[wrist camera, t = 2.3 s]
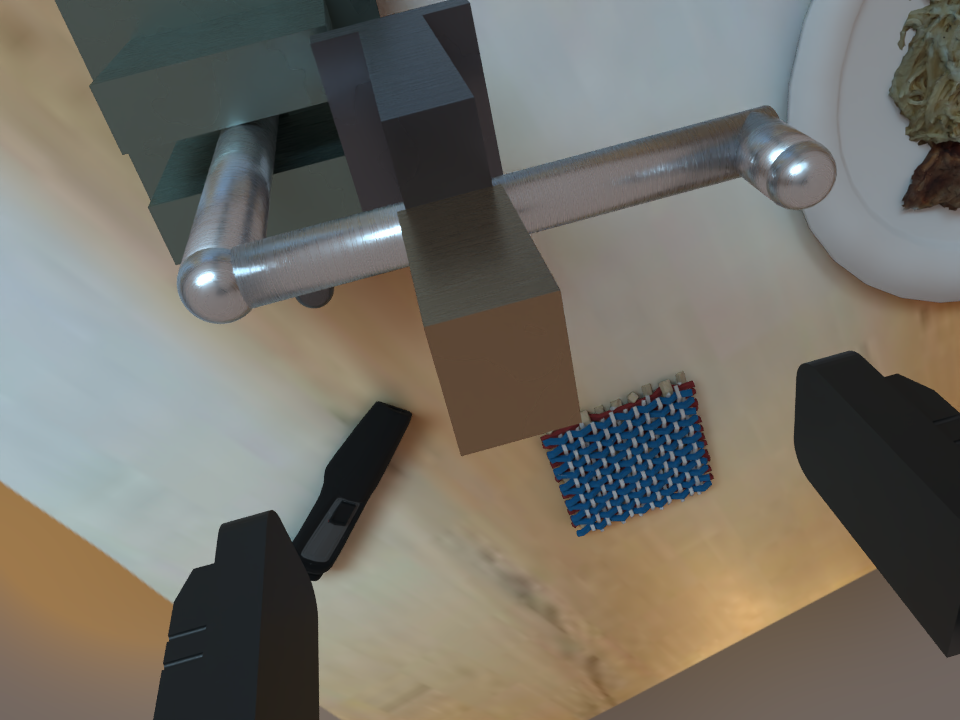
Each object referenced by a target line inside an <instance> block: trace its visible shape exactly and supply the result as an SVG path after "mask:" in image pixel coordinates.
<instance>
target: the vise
mask: <svg viewBox="0 0 960 720" xmlns="http://www.w3.org/2000/svg"><path fill="white" fill-rule="evenodd" d="M55 2H56V4H57V6H58V8H59V10H60V12H61V14H62V16H63V18H64V21H65V23H66V25H67V27H68V29H69V31H70V33H71V35H72V37H73V39H74V41H75V44H76V46H77V48H78V50H79V52H80V54H81V56H82V58H83V60H84V62H85V64H86V66H87V69H88V71H89V73H90V75H91V77H92V79H93V82H92V83H91V84H90V85H89V87H90V89H91V91H92V93H93V95H94V97H95V99H96V101H97V103H98V105H99V107H100V109H101V111H102V114H103V116H104V118H105V120H106V122H107V124H108V126H109V128H110V130H111V132H112V134H113V136H114V138H115V140H116V142H117V145H118V147H119V149H120V151H121V153H122V155H124V154H129V156H130V158H131V160H132V162H133V164H134V167H135V169H136V171H137V173H138V175H139V177H140V179H141V181H142V183H143V185H144V187H145V190H146V192H147V194H148V196H149V198H150V200H151V202H150V204H149V206H148V209H149V211H150V213H151V215H152V217H153V219H154V221H155V223H156V225H157V227H158V229H159V231H160V233H161V235H162V237H163V239H164V242H165V244H166V246H167V248H168V250H169V252H170V254H171V256H172V258H173V260H174V262H175V264H176V265H178V264H181V265H180V268H179V272H178V276H177V289H178V293H179V296H180V299H181V301H182V303H183V304H184V306H185V307H186V308H187V309H188V310H189V311H190V312H191V313H192V314H193V315H194V316H196V317H197V318H199V319H201V320H203V321H206V322H209V323H215V324H226V323H231V322H234V321H237V320H239V319H241V318H243V317H244V316H246V315H247V314H248V313H249V312H250V311H251V310H252V309H253V308H256V307H260V306H263V305H267V304H271V303H275V302H278V301H282V300H286V299H290V298H293V297H295V298H296V299H297V301H298V302H299V303H300V304H302V305H303V306H305V307H308V308H320V307H322V306H324V305H326V304H327V303H328V302H329V301H330V300H331V298H332V296H333V293H334V286H338V285H342V284H345V283H349V282H353V281H357V280H360V279H364V278H368V277H371V276H375V275H379V274H383V273H386V272H390V271H394V270H397V269H401V268H405V267H409V262H408V258H407V253H406V249H405V245H404V241H403V236H402V232H401V228H400V223H399V219H398V215H397V212H398V211H401V210H405V206H404V202H399V203H395V204H392V205H388V206H384V207H380V208H376V209H373V210H369V211H365V212H363V211H362V208H361V205H360V202H359V198H358V195H357V192H356V189H355V186H354V182H353V179H352V176H351V173H350V170H349V167H348V163H347V160H346V157H345V154H344V151H343V147H342V144H341V141H340V138H339V135H338V131H337V128H336V125H335V122H334V119H333V115H332V112H331V109H330V106H329V103H328V99H327V96H326V93H325V90H324V87H323V83H322V80H321V77H320V74H319V71H318V67H317V64H316V61H315V58H314V55H313V51H312V48H311V45H310V36H311V35H315V34H319V33H323V32H327V31H331V30H334V29H338V28H342V27H346V26H350V25H354V24H358V23H362V22H366V21H370V20H373V19H377V18H380V15H379V11H378V7H377V3H376V0H55ZM836 176H837V168H836V162H835V159H834V158H833V156H832V154H831V152H830V151H829V150H828V149H827V148H826V147H825V146H824V145H822V144H821V143H819V142H817V141H816V140H814V139H812V138H811V137H809V136H807V135H805V134H804V133H802V132H800V131H799V130H797V129H795V128H794V127H792V126H790V125H789V124H787V123H785V122H784V121H782V120H780V119H779V117H778V115H777V113H776V112H775V110H774V109H773V108H772V107H770V106H767V105H764V106H761V107H757V108H753V109H749V110H745V111H742V112H738V113H734V114H730V115H727V116H723V117H719V118H715V119H712V120H708V121H704V122H700V123H697V124H693V125H689V126H685V127H681V128H678V129H674V130H670V131H666V132H663V133H659V134H655V135H651V136H648V137H644V138H640V139H636V140H633V141H629V142H625V143H621V144H617V145H614V146H610V147H606V148H602V149H599V150H595V151H591V152H587V153H584V154H580V155H576V156H572V157H568V158H565V159H561V160H557V161H553V162H550V163H546V164H542V165H538V166H535V167H531V168H527V169H523V170H520V171H516V172H512V173H508V174H504V175H501V176H497V177H493V178H491V181H492V185H493V186H495V185H499V184H502V186H503V188H504V190H505V191H506V193H507V195H508V197H509V199H510V200H511V202H512V204H513V206H514V208H515V209H516V211H517V213H518V215H519V217H520V218H521V220H522V222H523V224H524V226H525V227H526V229H527V231H528V233H529V234H531V233H535V232H539V231H543V230H546V229H550V228H554V227H558V226H561V225H565V224H569V223H572V222H576V221H580V220H584V219H587V218H591V217H595V216H598V215H602V214H606V213H610V212H613V211H617V210H621V209H625V208H628V207H632V206H636V205H639V204H643V203H647V202H651V201H654V200H658V199H662V198H665V197H669V196H673V195H677V194H680V193H684V192H688V191H692V190H695V189H699V188H703V187H706V186H710V185H714V184H718V183H721V182H725V181H729V180H732V179H736V178H740V177H742V178H744V179H745V180H746V181H748V182H749V183H750V184H751V185H753V186H754V187H755V188H756V189H758V190H759V191H760V192H762V193H763V194H764V195H765V196H767V197H768V198H769V199H771V200H772V201H773V202H774V203H776V204H777V205H779V206H781V207H783V208H787V209H792V210H801V209H806V208H810V207H813V206H815V205H816V204H818V203H819V202H821V201H822V200H823V199H824V198H825V197H826V196H827V195H828V194H829V193H830V191H831V190H832V188H833V186H834V184H835V181H836Z"/></svg>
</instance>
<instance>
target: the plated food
mask: <svg viewBox="0 0 960 720" xmlns="http://www.w3.org/2000/svg"><path fill="white" fill-rule="evenodd" d="M787 124H789V125H790V126H792V127H794V128H795V129H797V130H799V131H800V132H802V133H804V134H805V135H807V136H809V137H811V138H812V139H814V140H816V141H817V142H819V143H821V144H822V145H824V146H825V147H826V148H827V149H828V150H829V151H830V152H831V154H832V156H833V158H834V159H835V162H836V168H837V176H836V181H835V184H834V186H833V188H832V190H831V191H830V193H829V194H828V195H827V196H826V197H825V198H824V199H823V200H822V201H821V202H819V203H818V204H816V205H815V206H813V207H810V208H806V209H802V212H803V214H804V217H805V219H806V221H807V224H808V226H809V229H810V230H811V231H812V233H813V234H814V235H815V237H816V238H817V239H818V240H819V242H820V243H821V244H822V246H823V247H824V248H825V250H826V251H827V252H828V254H829V255H830V256H831V257H832V259H833V260H834V261H836V262H837V263H838V264H840V265H841V266H842V267H844V268H845V269H846V270H848V271H849V272H850V273H852V274H853V275H854V276H856V277H857V278H858V279H860V280H861V281H862V282H864V283H865V284H867V285H869V286H872V287H875V288H877V289H880V290H882V291H885V292H888V293H890V294H893V295H895V296H898V297H901V298H907V299H915V300H923V301H931V302H939V303H942V302H954V301H960V0H812V1H811V3H810V6H809V8H808V11H807V13H806V16H805V18H804V21H803V25H802V29H801V33H800V37H799V42H798V46H797V50H796V55H795V59H794V63H793V68H792V72H791V76H790V81H789V90H788V109H787Z"/></svg>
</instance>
